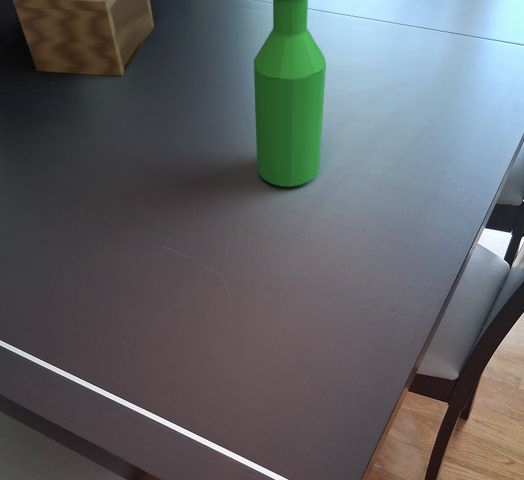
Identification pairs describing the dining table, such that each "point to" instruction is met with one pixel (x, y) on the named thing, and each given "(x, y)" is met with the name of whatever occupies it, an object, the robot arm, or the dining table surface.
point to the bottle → (289, 98)
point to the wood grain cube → (85, 34)
